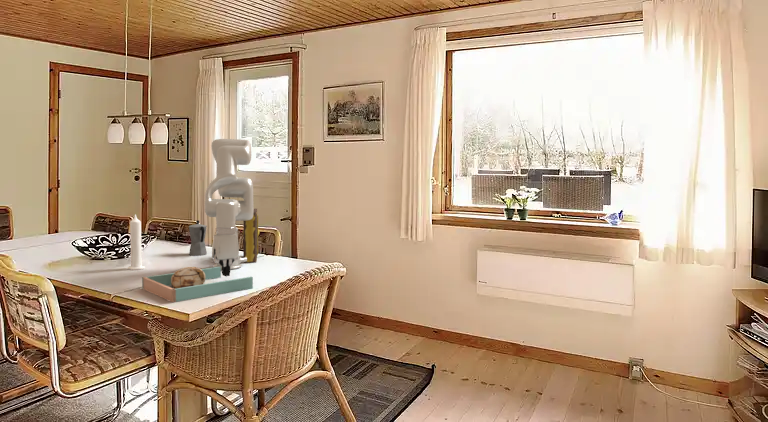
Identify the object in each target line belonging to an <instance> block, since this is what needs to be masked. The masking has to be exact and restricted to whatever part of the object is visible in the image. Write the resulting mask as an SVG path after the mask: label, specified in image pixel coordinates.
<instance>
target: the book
mask: <svg viewBox="0 0 768 422" xmlns="http://www.w3.org/2000/svg"><path fill="white" fill-rule="evenodd" d="M242 235H243V238H242V239H243V248H242V249H243V250H242V251H243V255H242V256H243V257H242V258H245V257H246V258H247V261H245V262H243V263H244V264H255V263H257V261H258V255H259V236H260V230H259V214H258V208H254V212H253V218H252V219H251V220H248V221H243V229H242Z"/></svg>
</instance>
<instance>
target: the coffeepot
mask: <svg viewBox="0 0 768 422" xmlns="http://www.w3.org/2000/svg"><path fill="white" fill-rule="evenodd" d="M188 230H189V236H190V240H191V241H190V246H189V252H188V253H189V254H188V255H189V256H191V255H192V256H193V257H194V256H195V257H199V256H200V257H201V256H206V255H207V252H208V251H207V246H206V242H205V239H206V234H207V225H205V224H201V223H200V220H196V224H192V225H189V226H188Z"/></svg>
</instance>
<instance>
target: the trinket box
mask: <svg viewBox="0 0 768 422" xmlns="http://www.w3.org/2000/svg"><path fill="white" fill-rule="evenodd" d="M173 273H174V274H173V275H172V277H171V284H172V285H171V286H172V288H173V289H177V288H183V287H189V286H196V285H202V284H205V281H206V280H205V273H204V272H203V271H202V270H201V268H199V267H196V266H186V267H182V268H180V269H178V270H176V271H174V272H173Z"/></svg>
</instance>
